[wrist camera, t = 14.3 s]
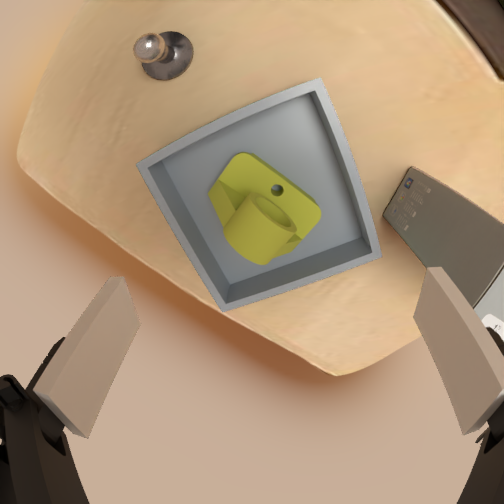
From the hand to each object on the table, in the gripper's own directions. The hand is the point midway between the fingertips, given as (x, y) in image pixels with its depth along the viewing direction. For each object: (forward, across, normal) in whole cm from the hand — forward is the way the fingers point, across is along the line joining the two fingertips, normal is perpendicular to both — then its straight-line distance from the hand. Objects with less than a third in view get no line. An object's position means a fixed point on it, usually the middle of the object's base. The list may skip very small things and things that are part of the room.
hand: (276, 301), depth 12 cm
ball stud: (+23, -11, +15) cm, 30 cm away
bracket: (+22, -1, -3) cm, 23 cm away
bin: (+23, -1, -3) cm, 23 cm away
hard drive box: (+23, +22, -6) cm, 32 cm away
